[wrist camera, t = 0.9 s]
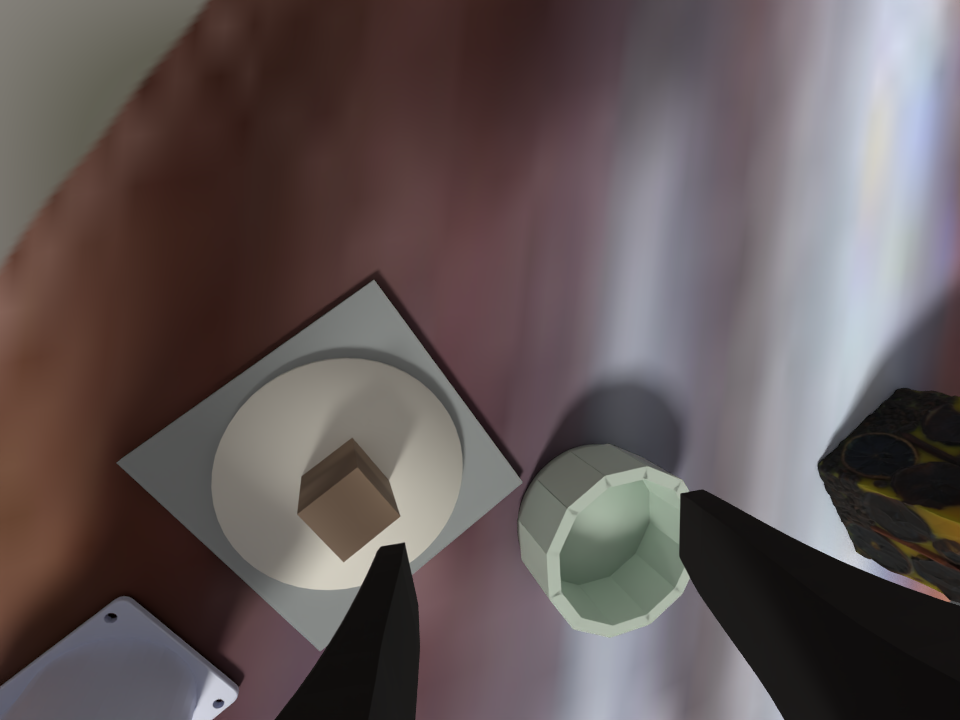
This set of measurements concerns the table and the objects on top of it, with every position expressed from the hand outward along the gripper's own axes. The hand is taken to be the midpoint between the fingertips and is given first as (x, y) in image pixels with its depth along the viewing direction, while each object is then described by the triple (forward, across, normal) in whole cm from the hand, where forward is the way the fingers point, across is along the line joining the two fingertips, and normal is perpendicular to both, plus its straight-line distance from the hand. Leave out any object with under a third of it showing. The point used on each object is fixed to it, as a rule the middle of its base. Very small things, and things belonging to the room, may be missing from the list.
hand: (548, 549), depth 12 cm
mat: (+13, +8, +4) cm, 15 cm away
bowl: (+15, -5, +11) cm, 19 cm away
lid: (+12, +8, +4) cm, 15 cm away
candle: (+20, -30, +16) cm, 39 cm away
